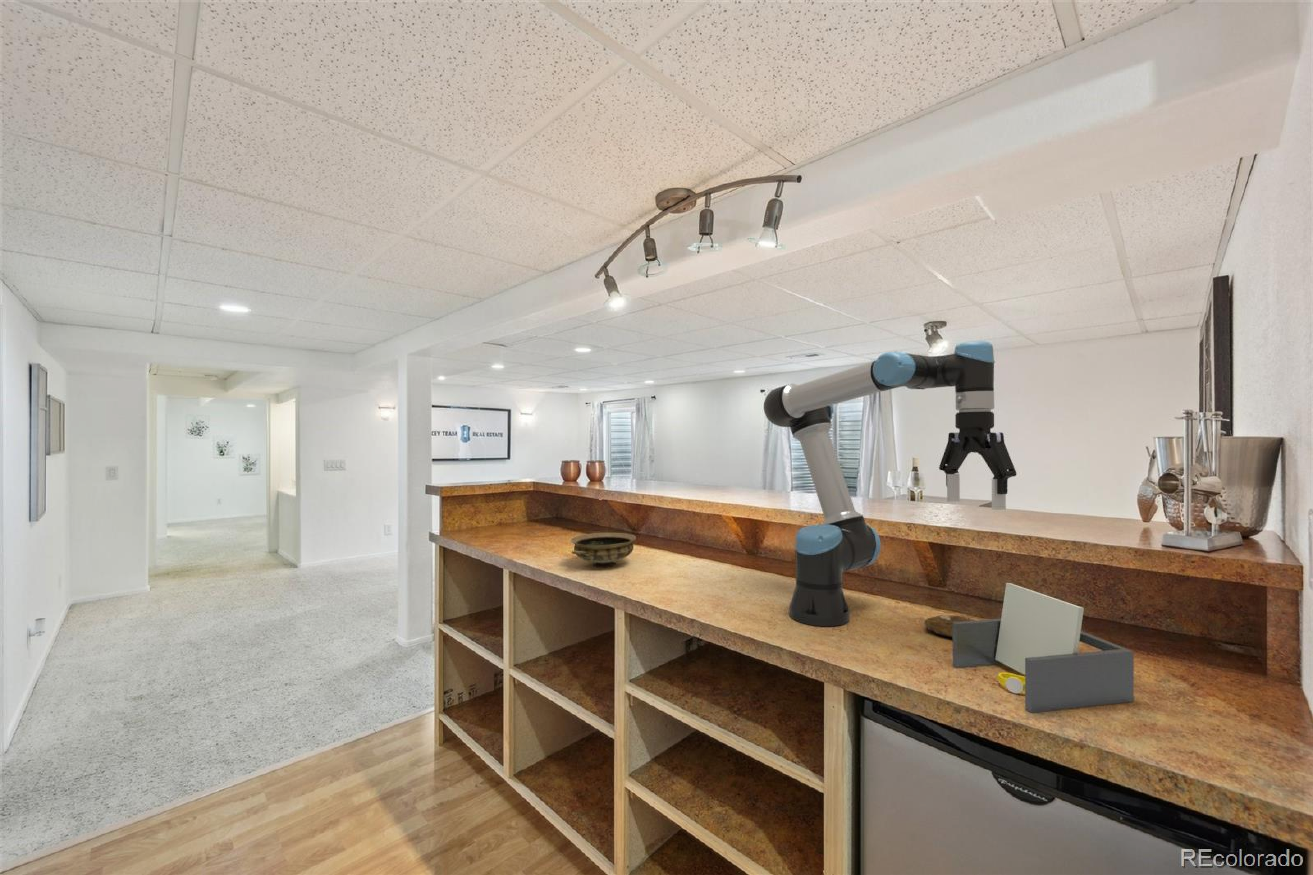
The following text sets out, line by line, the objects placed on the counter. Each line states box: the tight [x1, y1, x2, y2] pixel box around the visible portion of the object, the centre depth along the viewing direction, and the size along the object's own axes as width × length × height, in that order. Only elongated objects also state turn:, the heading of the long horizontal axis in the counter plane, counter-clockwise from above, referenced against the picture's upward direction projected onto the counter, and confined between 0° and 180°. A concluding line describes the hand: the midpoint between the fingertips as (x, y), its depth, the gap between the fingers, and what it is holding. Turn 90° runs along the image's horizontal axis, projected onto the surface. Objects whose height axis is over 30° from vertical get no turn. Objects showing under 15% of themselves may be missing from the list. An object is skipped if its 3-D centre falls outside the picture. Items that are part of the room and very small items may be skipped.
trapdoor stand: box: [952, 618, 1135, 714], centre depth 103 cm, size 19×21×9 cm
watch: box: [997, 672, 1025, 694], centre depth 101 cm, size 6×3×6 cm
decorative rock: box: [924, 614, 975, 639], centre depth 127 cm, size 11×4×15 cm
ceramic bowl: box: [570, 532, 637, 568], centre depth 198 cm, size 30×24×10 cm
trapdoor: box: [995, 582, 1085, 676], centre depth 103 cm, size 16×16×1 cm
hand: (974, 505), depth 121 cm, fingers open, 13 cm apart
